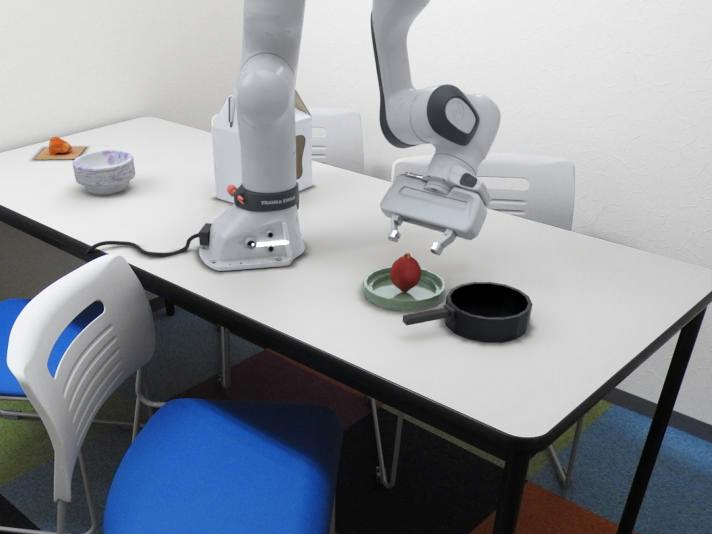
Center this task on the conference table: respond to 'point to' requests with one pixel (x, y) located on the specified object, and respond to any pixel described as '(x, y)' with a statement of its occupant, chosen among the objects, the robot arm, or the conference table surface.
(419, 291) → the plate
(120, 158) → the paper bowls
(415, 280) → the onion
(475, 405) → the conference table surface
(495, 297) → the pan
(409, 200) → the robot arm
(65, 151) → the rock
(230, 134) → the gable box
